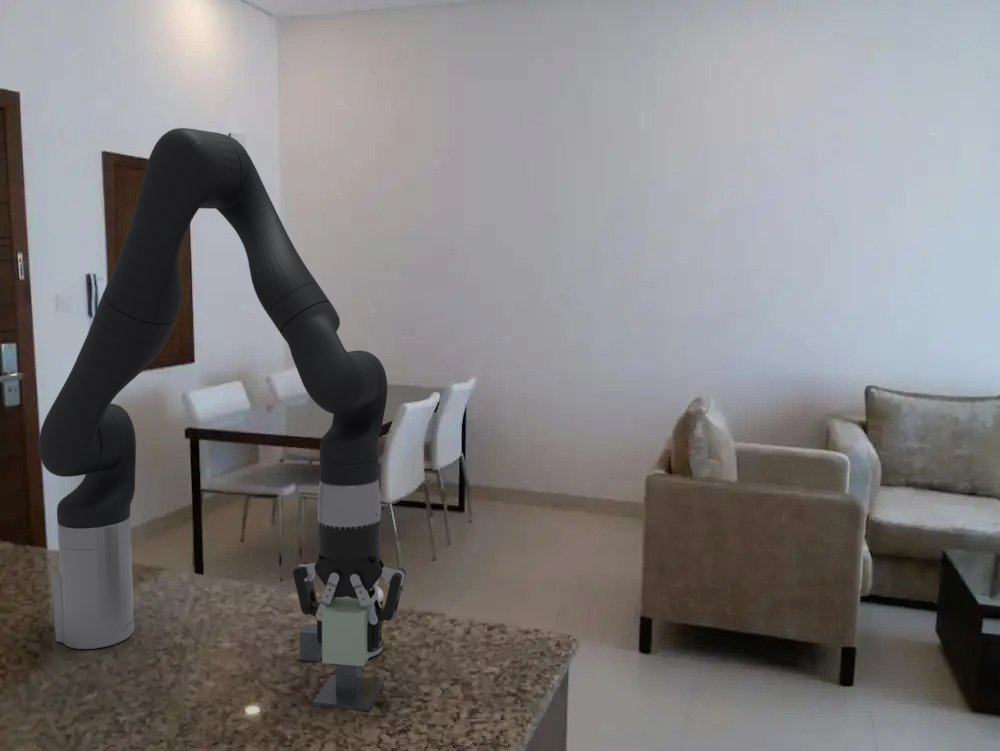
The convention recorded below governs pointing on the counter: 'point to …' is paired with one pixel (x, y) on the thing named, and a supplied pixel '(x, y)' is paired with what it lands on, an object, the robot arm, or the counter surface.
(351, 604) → the pale green block
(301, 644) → the short post
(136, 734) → the counter surface
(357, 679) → the post on square base
